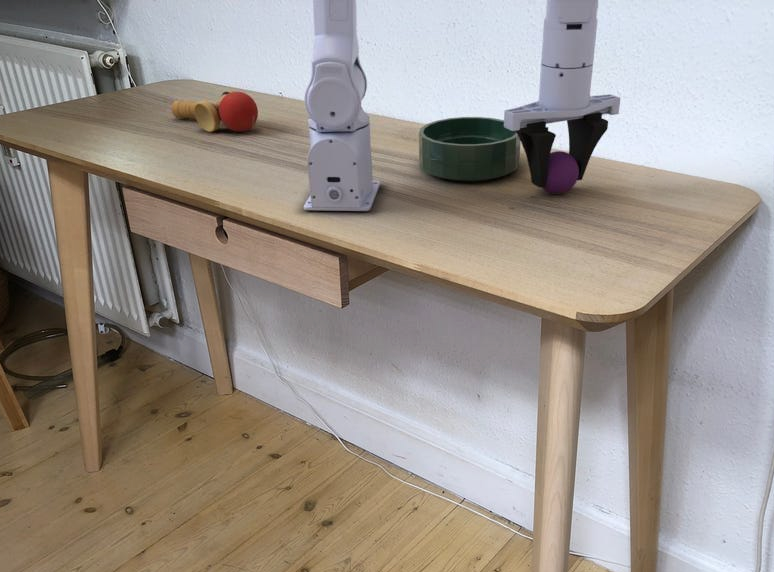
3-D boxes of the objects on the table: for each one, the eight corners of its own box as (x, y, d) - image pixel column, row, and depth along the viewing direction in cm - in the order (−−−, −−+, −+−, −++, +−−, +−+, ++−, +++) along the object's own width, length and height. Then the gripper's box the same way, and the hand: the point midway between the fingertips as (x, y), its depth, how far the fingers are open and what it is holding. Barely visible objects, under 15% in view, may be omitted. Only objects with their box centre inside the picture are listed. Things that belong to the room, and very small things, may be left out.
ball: (578, 200, 90) (582, 158, 88) (536, 199, 91) (538, 158, 88) (575, 185, 95) (579, 145, 92) (534, 185, 95) (537, 145, 92)
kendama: (160, 132, 125) (233, 133, 115) (155, 92, 123) (228, 88, 113) (198, 130, 131) (270, 130, 120) (194, 91, 129) (267, 88, 118)
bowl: (519, 185, 95) (521, 145, 93) (415, 184, 97) (414, 145, 94) (518, 152, 106) (520, 116, 104) (424, 152, 108) (423, 116, 105)
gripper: (599, 50, 90) (587, 162, 97) (492, 64, 86) (488, 181, 93) (637, 60, 85) (622, 179, 92) (525, 76, 80) (518, 199, 87)
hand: (557, 181), depth 92 cm, fingers closed on ball, 5 cm apart
